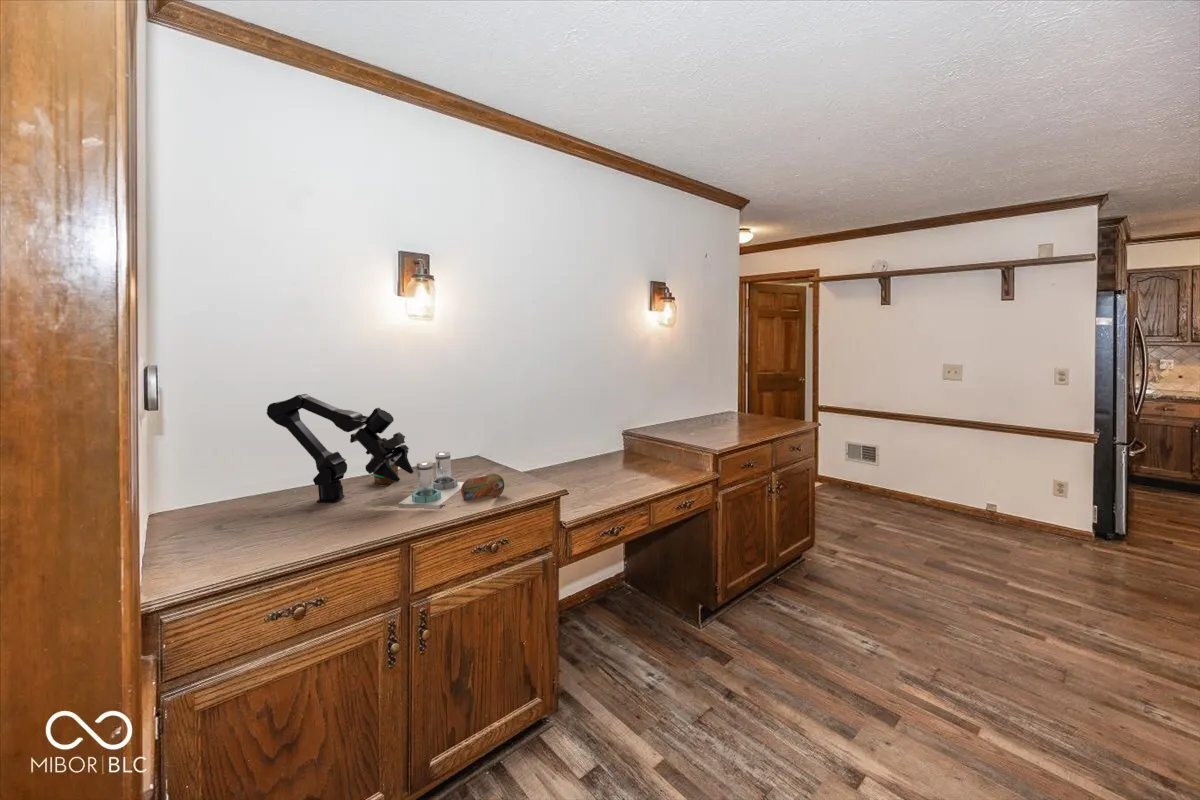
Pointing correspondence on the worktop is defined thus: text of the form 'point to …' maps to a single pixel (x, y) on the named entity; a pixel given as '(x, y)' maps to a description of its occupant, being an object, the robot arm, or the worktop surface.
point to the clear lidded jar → (443, 467)
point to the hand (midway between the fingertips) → (405, 476)
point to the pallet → (432, 504)
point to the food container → (383, 480)
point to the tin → (482, 486)
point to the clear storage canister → (425, 478)
